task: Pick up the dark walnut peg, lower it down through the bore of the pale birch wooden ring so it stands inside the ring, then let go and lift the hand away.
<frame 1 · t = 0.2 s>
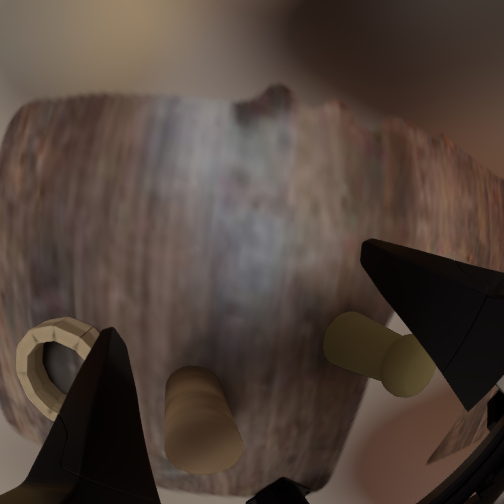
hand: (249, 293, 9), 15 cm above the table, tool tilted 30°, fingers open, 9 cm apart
walnut peg: (193, 390, 22), on the table
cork: (346, 338, 27), on the table
wooden ring: (73, 367, 19), on the table
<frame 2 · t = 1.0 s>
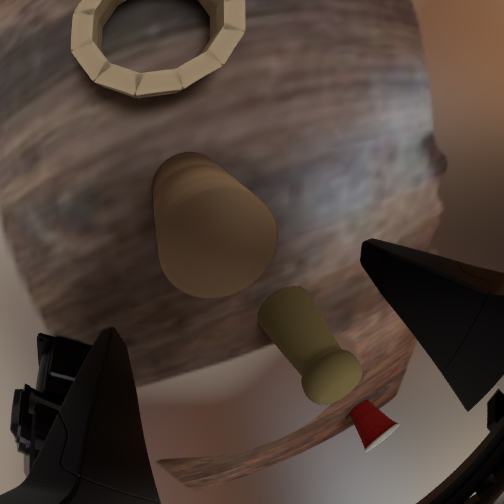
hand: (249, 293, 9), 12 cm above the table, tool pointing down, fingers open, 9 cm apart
walnut peg: (187, 187, 18), on the table
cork: (284, 309, 28), on the table
plastic cup: (359, 405, 58), on the table
wooden ring: (155, 30, 12), on the table
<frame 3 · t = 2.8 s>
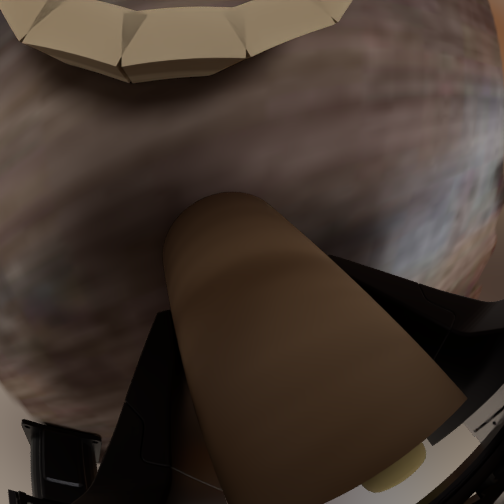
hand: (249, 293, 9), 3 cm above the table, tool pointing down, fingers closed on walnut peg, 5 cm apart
walnut peg: (226, 253, 11), on the table, touching gripper
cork: (332, 378, 20), on the table
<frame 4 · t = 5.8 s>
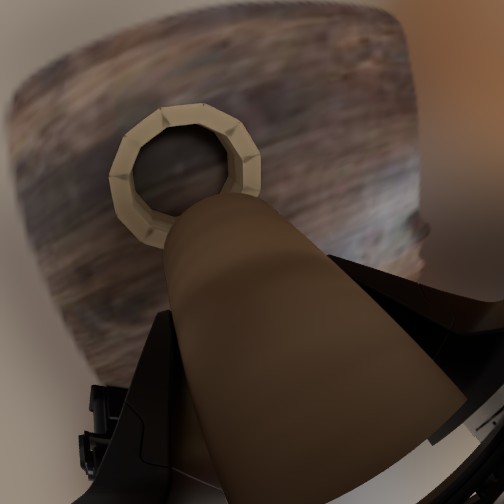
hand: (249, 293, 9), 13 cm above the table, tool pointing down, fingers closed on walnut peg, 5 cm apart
walnut peg: (227, 254, 11), point 11 cm above the table, touching gripper
wooden ring: (181, 170, 19), on the table
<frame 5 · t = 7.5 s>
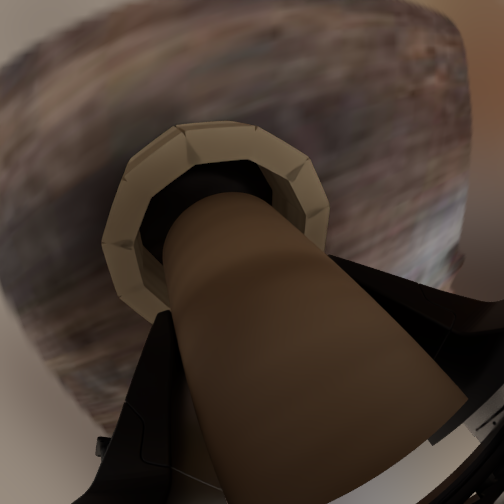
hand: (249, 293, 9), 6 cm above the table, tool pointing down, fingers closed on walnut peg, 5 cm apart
walnut peg: (227, 254, 11), point 4 cm above the table, touching gripper
wooden ring: (207, 216, 14), on the table
when the fingers open (4 cm above the table, at t = 8.8 s): walnut peg drops 2 cm, resting in wooden ring.
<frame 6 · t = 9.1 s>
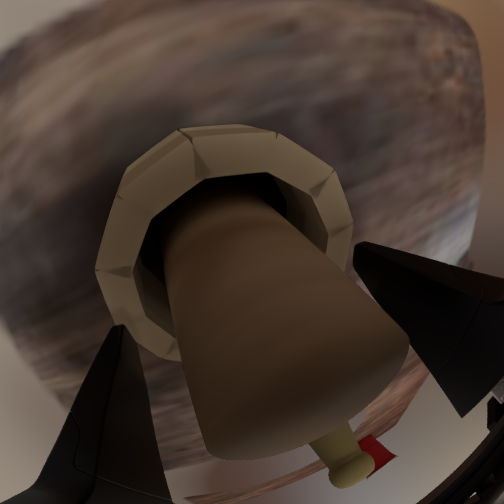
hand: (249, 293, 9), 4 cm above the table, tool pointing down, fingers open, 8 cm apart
walnut peg: (214, 232, 12), resting in wooden ring
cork: (314, 410, 28), on the table
plastic cup: (363, 439, 59), on the table
wooden ring: (215, 232, 12), on the table
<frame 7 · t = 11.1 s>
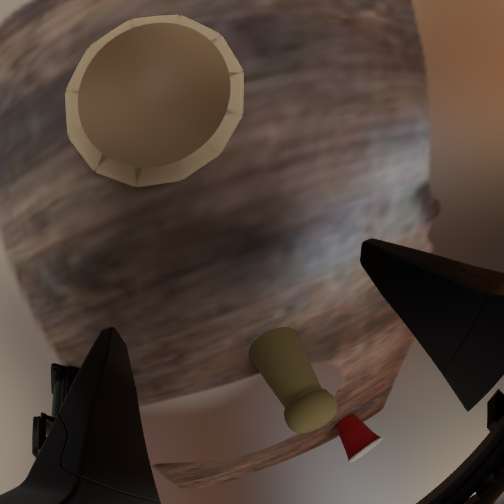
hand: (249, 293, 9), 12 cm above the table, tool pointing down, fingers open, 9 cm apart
walnut peg: (153, 100, 14), resting in wooden ring
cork: (273, 345, 30), on the table
plastic cup: (345, 418, 61), on the table
wooden ring: (153, 99, 14), on the table
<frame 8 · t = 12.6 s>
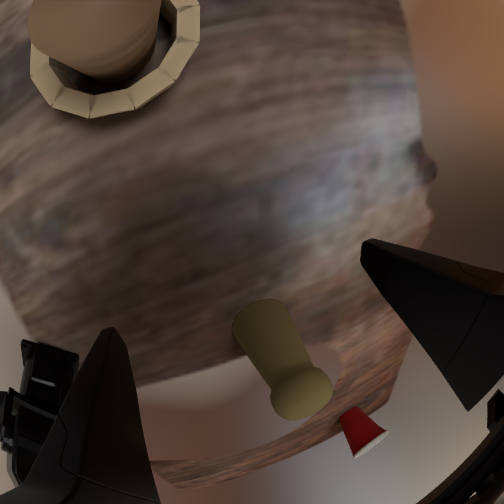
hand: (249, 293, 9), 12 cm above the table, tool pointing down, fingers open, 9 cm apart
walnut peg: (116, 46, 12), resting in wooden ring
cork: (259, 321, 28), on the table
plastic cup: (348, 412, 58), on the table
wooden ring: (117, 46, 12), on the table
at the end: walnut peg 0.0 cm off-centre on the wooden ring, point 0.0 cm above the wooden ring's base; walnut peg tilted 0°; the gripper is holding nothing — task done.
